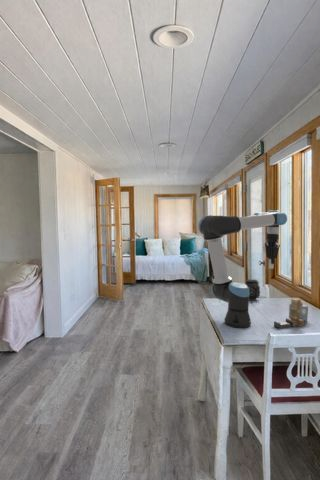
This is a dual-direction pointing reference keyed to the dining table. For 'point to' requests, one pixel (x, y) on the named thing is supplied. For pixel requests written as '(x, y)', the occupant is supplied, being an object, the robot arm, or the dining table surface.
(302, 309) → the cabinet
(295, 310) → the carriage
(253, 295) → the camera
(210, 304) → the dining table surface
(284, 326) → the rail
